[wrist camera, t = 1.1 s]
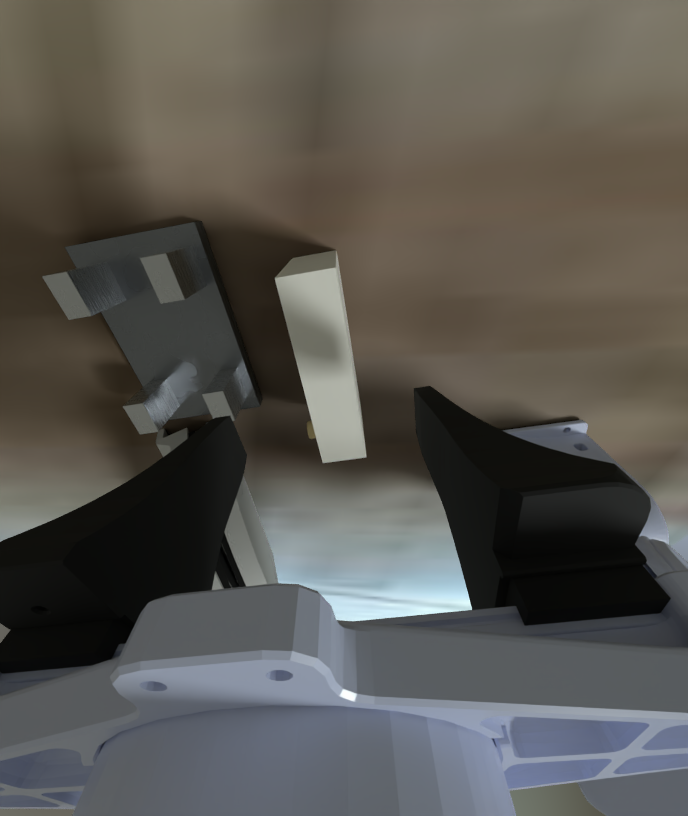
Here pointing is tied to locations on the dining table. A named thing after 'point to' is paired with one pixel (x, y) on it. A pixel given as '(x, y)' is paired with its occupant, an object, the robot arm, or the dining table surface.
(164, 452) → the grey curved block
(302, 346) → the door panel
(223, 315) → the clip bracket
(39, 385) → the dining table surface
